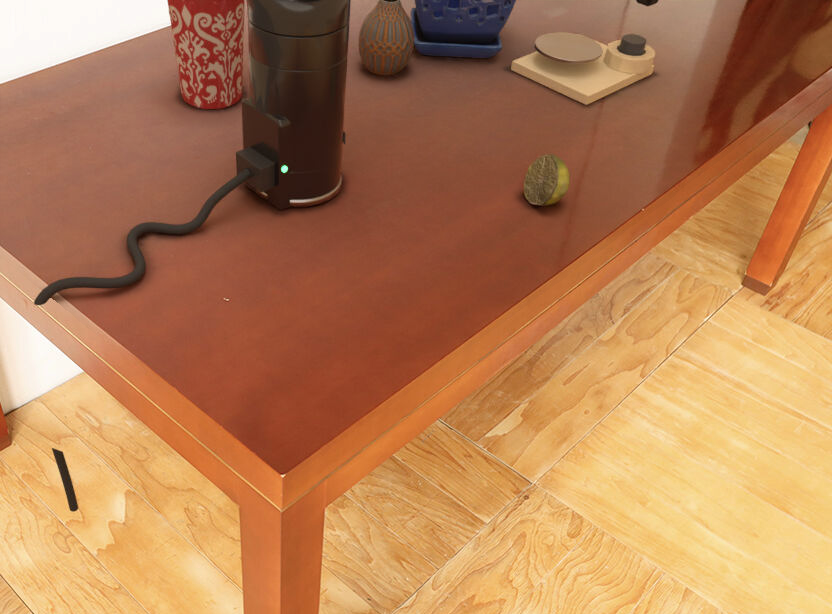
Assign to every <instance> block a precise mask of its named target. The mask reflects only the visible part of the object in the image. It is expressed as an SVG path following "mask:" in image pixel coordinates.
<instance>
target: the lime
mask: <svg viewBox="0 0 832 614" xmlns="http://www.w3.org/2000/svg"><path fill="white" fill-rule="evenodd" d="M570 180H571V178H570V171H569V168H568V166H567V165H566V163H565V161H564V160H563V159H561V157H559V156H556V155H554V154H542V155H540V156H538V157H537V158H536V159H535V160H534V161H533V162H532V163H531V164H530V165H529V166H528V168H527V171H526V174H525V178H524V180H523V192H524V197H525V199H526V200H527V201H528V202H529V203H530V204H531V205H534V206H539V207H541V206H543V207H545V206H551V205H554V204H556V203H557V202H559V201H561V200H562V199H563V198H564V197H565V195H566V193H567V192H568V190H569V187H570V183H571V182H570Z"/></svg>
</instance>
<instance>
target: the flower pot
mask: <svg viewBox="0 0 832 614" xmlns="http://www.w3.org/2000/svg"><path fill="white" fill-rule="evenodd" d="M516 1H517V0H414V5H415V7H412V8H411V9H410V20H411V23H412V26H413V30H414V48H415V49H416V51H417V52H418V53H419V54H421V55H423V56H435V57H451V58H453V57H454V58H456V57H457V58H476V59H490V58H493V57H494V56H496V55H497V54H499V53H500V52H501V50H502V49H503V43H502V39H501V35H500V33H501V31H502V30H503V29H504V27H505V25H506V23H507V22H508V20H509V18H510V16H511V14H512V11H513V9H514V7H515V4H516Z"/></svg>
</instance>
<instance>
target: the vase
mask: <svg viewBox="0 0 832 614" xmlns="http://www.w3.org/2000/svg"><path fill="white" fill-rule="evenodd" d="M414 48H415V45H414V30H413V26H412V23H411V17H409V15H408V13H407V12H406V10H405V9H404V6H403V4H402V1H401V0H378V2H377V3H376V5H375V6H374V7H373V8H372V10H371V11H370V12H369V13H368V14H367V15H366V17H365V18H364V20H363V22H362V24H361V26H360V29H359V34H358V52H359V57H360V59H361V62H362V64H363V65H364V67H365V68H366V69H367V70H368V71H369V72H370V73H372V74H374V75H377V76H381V77H382V76H384V77H388V76H394V75H397V74H398V73H400V72H401V71H403V69H405V68H406V66H407V65H408V64H409V62H410V59H411V57H412V54H413V51H414Z"/></svg>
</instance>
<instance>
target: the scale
mask: <svg viewBox="0 0 832 614" xmlns="http://www.w3.org/2000/svg"><path fill="white" fill-rule="evenodd" d="M578 35H582V36H584V35H583V34H581V33H578ZM593 40H594V41H596V42H597V43H598V44H600V46H601V47H602V50H603V51H602V55H601V57H600V58H599V59H598V60H596V61H593V62H589V63H582V64H572V63H564V62H559V61H555V60H552V59H549V58H547V57H545V56H543V55H541V54H540V53H539V52H538V51H537V50H536V51H534V52H531V53H529V54H527V55H523V56H521V57H519V58H516V59H514V60H512V62H511V66H510V71H512V72H515V73H516V74H518V75H521V76H523V77H525V78H527V79H530V80H532V81H533V82H536V83H538V84H540V85H542V86H545V87H546V88H549V89H551V90H553V91H555V92H557V93H559V94H562V95H563V96H566V97H568V98H570V99H572V100H573V101H577V102H578V103H581V104H583V105H585V106H587V105H590V104H592V103H594V102H596V101H598V100H600V99H602V98H604V97H607V96H608V95H610V94H613V93H615V92H616V91H617V92H618V91H619V90H622V89H624V88H626V87H628V86H629V85H632V84H634V83H636V82H638V81H641V80H642V79H644V78H646V77H649V76H651V75H652V74H653V72H654V68H655V66H656V65H654V64H653V63H654V60H655V56H656V50H655V49H653V47H652V46H650V45H649V44H646V45H645V48H644V51H643V55H641V56H630V55H625V54H623V53H621V52H619V47H620V43H621V40H622V39H616V40H613V41H611V42H609V43H607V44H604V43H602V42H599V41H597V40H595V39H593Z"/></svg>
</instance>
